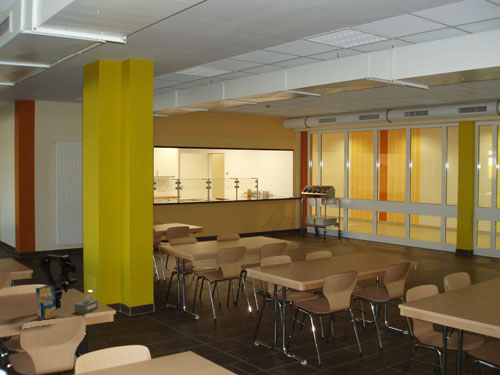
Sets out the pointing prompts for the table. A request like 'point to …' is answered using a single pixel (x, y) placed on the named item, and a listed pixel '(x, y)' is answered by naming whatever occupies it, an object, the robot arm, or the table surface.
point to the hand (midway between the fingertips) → (66, 292)
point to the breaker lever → (88, 295)
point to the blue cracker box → (46, 302)
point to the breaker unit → (86, 306)
